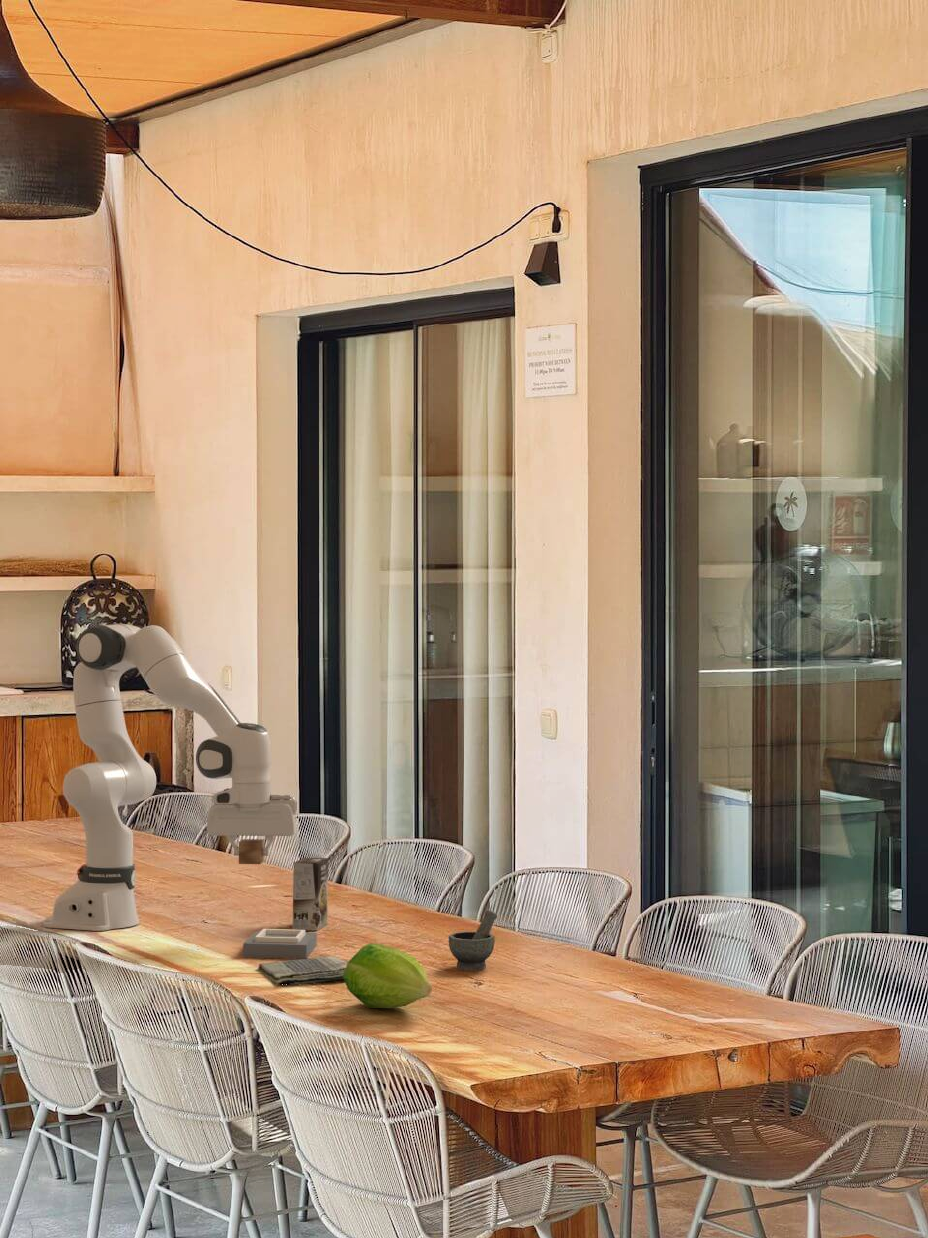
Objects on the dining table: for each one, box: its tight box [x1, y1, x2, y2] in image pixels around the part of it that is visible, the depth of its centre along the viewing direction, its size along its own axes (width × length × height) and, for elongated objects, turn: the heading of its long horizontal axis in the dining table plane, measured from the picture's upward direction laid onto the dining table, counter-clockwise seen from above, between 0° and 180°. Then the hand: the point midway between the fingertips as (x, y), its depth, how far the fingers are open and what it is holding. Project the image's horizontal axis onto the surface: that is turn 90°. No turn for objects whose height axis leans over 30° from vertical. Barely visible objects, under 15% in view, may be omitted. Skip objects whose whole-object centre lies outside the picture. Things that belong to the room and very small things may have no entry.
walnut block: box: [238, 838, 266, 865], centre depth 411 cm, size 5×5×5 cm
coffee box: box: [291, 857, 329, 932], centre depth 430 cm, size 9×6×16 cm
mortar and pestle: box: [448, 909, 498, 972], centre depth 387 cm, size 11×9×12 cm
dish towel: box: [257, 956, 348, 987], centre depth 378 cm, size 19×18×3 cm
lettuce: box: [344, 942, 433, 1009], centre depth 347 cm, size 14×20×12 cm
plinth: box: [242, 928, 318, 960], centre depth 401 cm, size 14×14×4 cm
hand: (251, 855), depth 411 cm, fingers closed on walnut block, 5 cm apart
